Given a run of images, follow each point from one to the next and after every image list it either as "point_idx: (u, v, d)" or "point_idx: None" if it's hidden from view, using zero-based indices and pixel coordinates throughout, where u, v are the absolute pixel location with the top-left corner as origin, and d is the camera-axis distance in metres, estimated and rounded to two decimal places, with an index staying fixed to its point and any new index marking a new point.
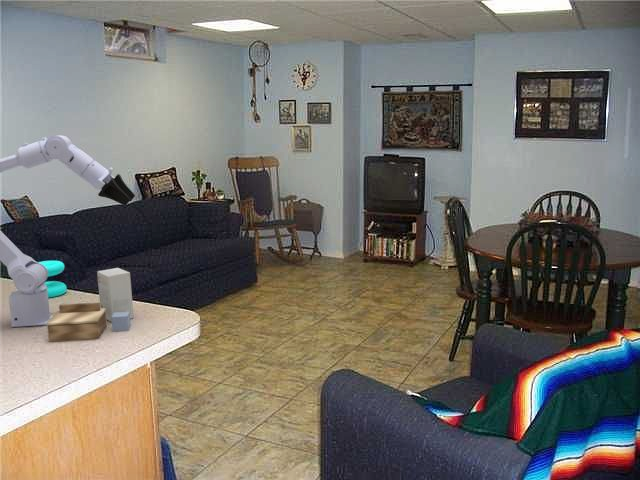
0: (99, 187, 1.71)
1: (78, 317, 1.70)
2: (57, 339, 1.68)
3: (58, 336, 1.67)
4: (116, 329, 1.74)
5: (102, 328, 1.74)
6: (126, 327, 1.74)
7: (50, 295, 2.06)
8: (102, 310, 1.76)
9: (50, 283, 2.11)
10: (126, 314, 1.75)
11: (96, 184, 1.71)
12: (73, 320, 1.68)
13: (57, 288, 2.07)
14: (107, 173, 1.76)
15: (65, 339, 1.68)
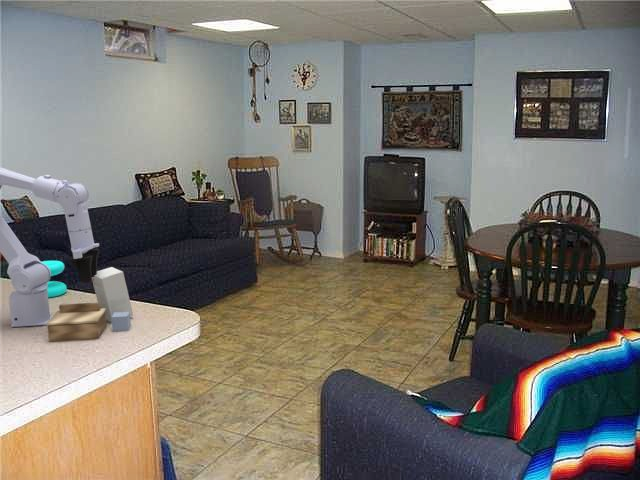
0: (75, 257, 1.70)
1: (78, 317, 1.70)
2: (57, 339, 1.68)
3: (58, 336, 1.67)
4: (116, 329, 1.74)
5: (102, 328, 1.74)
6: (126, 327, 1.74)
7: (50, 295, 2.06)
8: (102, 310, 1.76)
9: (50, 283, 2.11)
10: (126, 314, 1.75)
11: (75, 253, 1.70)
12: (73, 320, 1.68)
13: (57, 288, 2.07)
14: (91, 247, 1.75)
15: (65, 339, 1.68)
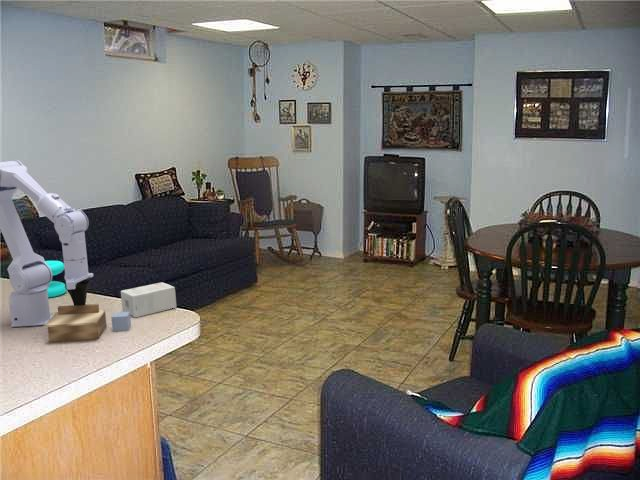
0: (68, 287, 1.67)
1: (76, 319, 1.69)
2: (57, 339, 1.68)
3: (58, 336, 1.67)
4: (116, 329, 1.74)
5: (102, 328, 1.74)
6: (126, 327, 1.74)
7: (50, 295, 2.06)
8: (101, 312, 1.74)
9: (50, 283, 2.11)
10: (126, 314, 1.75)
11: (68, 283, 1.67)
12: (72, 322, 1.67)
13: (57, 288, 2.07)
14: (85, 277, 1.72)
15: (65, 339, 1.68)
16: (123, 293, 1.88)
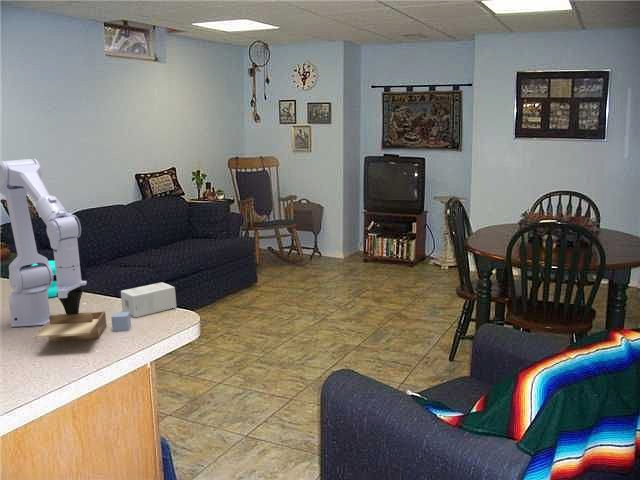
0: (59, 296, 1.59)
1: (68, 329, 1.61)
2: (57, 339, 1.68)
3: None
4: (116, 329, 1.74)
5: (102, 328, 1.74)
6: (126, 327, 1.74)
7: (50, 295, 2.06)
8: (94, 321, 1.67)
9: None
10: (126, 314, 1.75)
11: (60, 292, 1.59)
12: (64, 332, 1.59)
13: None
14: (78, 285, 1.65)
15: (65, 339, 1.68)
16: (123, 293, 1.88)
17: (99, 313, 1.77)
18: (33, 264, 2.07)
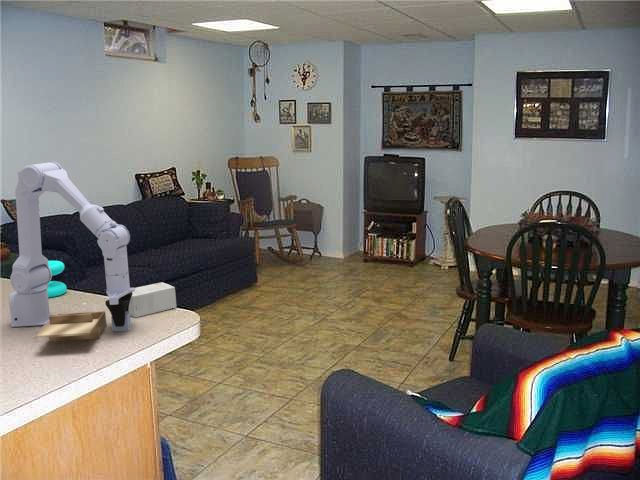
0: (111, 303, 1.67)
1: (68, 329, 1.61)
2: (57, 339, 1.68)
3: None
4: (116, 329, 1.74)
5: (102, 328, 1.74)
6: (126, 327, 1.74)
7: (50, 295, 2.06)
8: (94, 321, 1.67)
9: (50, 283, 2.11)
10: (126, 314, 1.75)
11: (111, 299, 1.67)
12: (63, 332, 1.59)
13: (57, 288, 2.07)
14: (127, 292, 1.72)
15: (65, 339, 1.68)
16: None
17: (99, 313, 1.77)
18: None
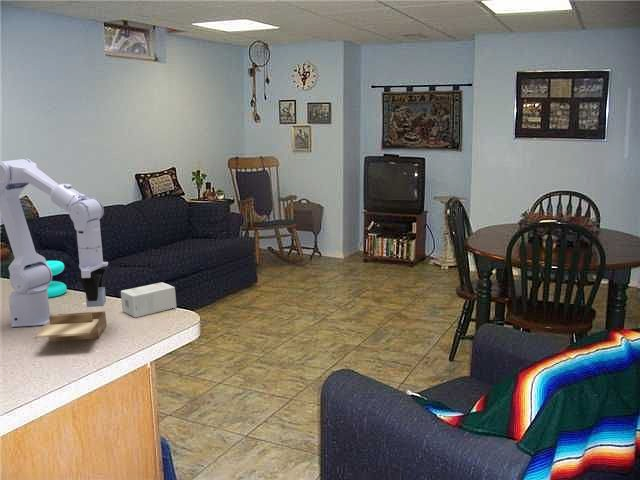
0: (83, 276, 1.64)
1: (68, 329, 1.61)
2: (57, 339, 1.68)
3: None
4: (90, 304, 1.71)
5: (102, 328, 1.74)
6: (101, 303, 1.72)
7: (50, 295, 2.06)
8: (94, 321, 1.67)
9: (50, 283, 2.11)
10: (101, 289, 1.72)
11: (83, 272, 1.64)
12: (63, 332, 1.59)
13: (57, 288, 2.07)
14: (100, 266, 1.70)
15: (65, 339, 1.68)
16: (123, 293, 1.88)
17: (99, 313, 1.77)
18: None
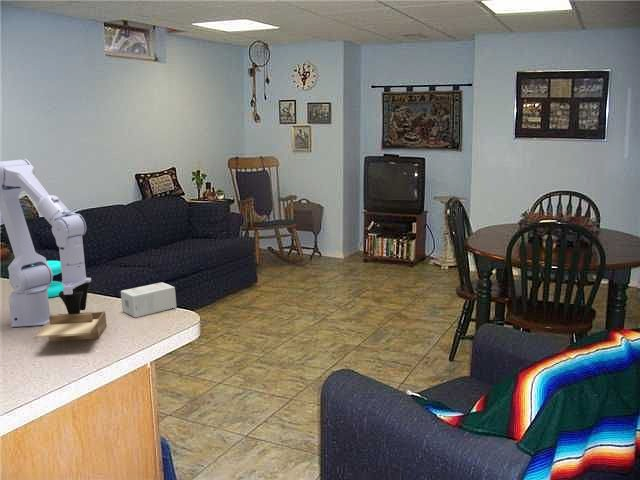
0: (65, 292, 1.64)
1: (68, 329, 1.61)
2: (57, 339, 1.68)
3: None
4: None
5: (102, 328, 1.74)
6: None
7: (50, 295, 2.06)
8: (94, 321, 1.67)
9: None
10: None
11: (65, 288, 1.64)
12: (63, 332, 1.59)
13: (57, 288, 2.07)
14: (82, 282, 1.70)
15: (65, 339, 1.68)
16: (123, 293, 1.88)
17: (99, 313, 1.77)
18: None
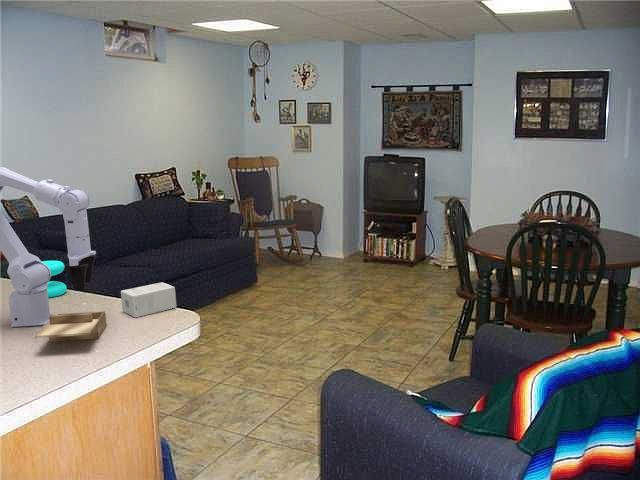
0: (71, 264, 1.70)
1: (68, 329, 1.61)
2: (57, 339, 1.68)
3: None
4: None
5: (102, 328, 1.74)
6: None
7: (50, 295, 2.06)
8: (94, 321, 1.67)
9: (50, 283, 2.11)
10: None
11: (71, 260, 1.70)
12: (63, 332, 1.59)
13: (57, 288, 2.07)
14: (88, 255, 1.75)
15: (65, 339, 1.68)
16: (123, 293, 1.88)
17: (99, 313, 1.77)
18: None
